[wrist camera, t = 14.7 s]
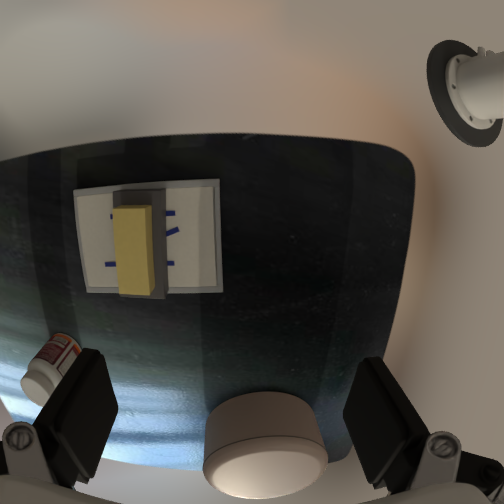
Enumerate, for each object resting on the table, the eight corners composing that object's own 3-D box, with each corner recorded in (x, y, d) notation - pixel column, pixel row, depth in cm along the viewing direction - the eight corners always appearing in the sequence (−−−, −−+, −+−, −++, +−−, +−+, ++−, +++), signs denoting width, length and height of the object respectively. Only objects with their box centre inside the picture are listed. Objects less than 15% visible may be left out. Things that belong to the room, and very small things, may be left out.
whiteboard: (219, 178, 32) (219, 178, 31) (223, 289, 36) (222, 292, 35) (76, 189, 31) (72, 190, 30) (90, 289, 35) (86, 292, 34)
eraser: (120, 189, 31) (102, 193, 26) (166, 188, 31) (154, 192, 26) (126, 288, 34) (112, 305, 29) (168, 290, 34) (160, 309, 29)
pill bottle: (46, 342, 37) (11, 383, 26) (63, 324, 36) (25, 367, 25) (72, 369, 38) (43, 415, 27) (91, 354, 37) (61, 402, 27)
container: (302, 370, 40) (321, 428, 29) (320, 435, 45) (335, 484, 34) (187, 399, 40) (179, 458, 29) (227, 457, 46) (228, 507, 34)
